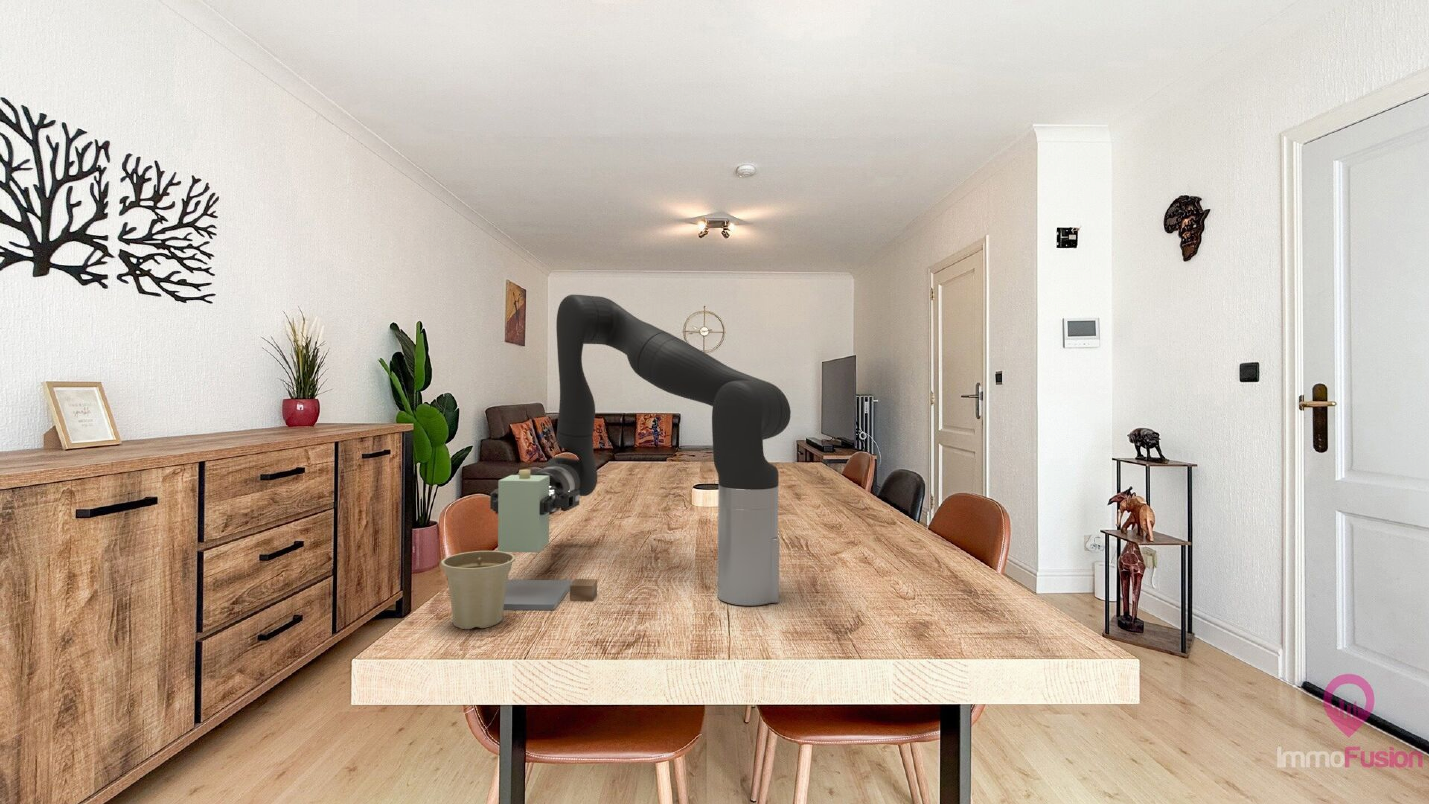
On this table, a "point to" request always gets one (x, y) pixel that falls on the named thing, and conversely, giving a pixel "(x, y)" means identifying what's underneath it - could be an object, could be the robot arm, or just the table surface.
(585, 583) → the walnut block
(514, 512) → the sage green tall block
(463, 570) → the flower pot
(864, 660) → the table surface
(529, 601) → the slate coaster
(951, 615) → the table surface
